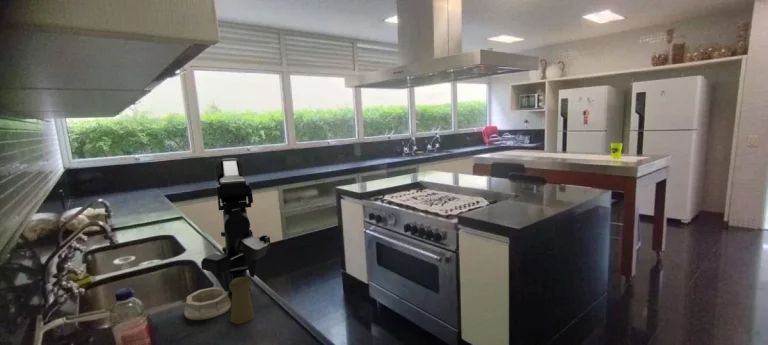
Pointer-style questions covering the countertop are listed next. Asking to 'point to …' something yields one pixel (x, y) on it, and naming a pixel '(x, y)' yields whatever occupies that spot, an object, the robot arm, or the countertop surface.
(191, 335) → the countertop surface
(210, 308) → the dock socket
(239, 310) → the olive brown tapered peg
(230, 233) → the robot arm
